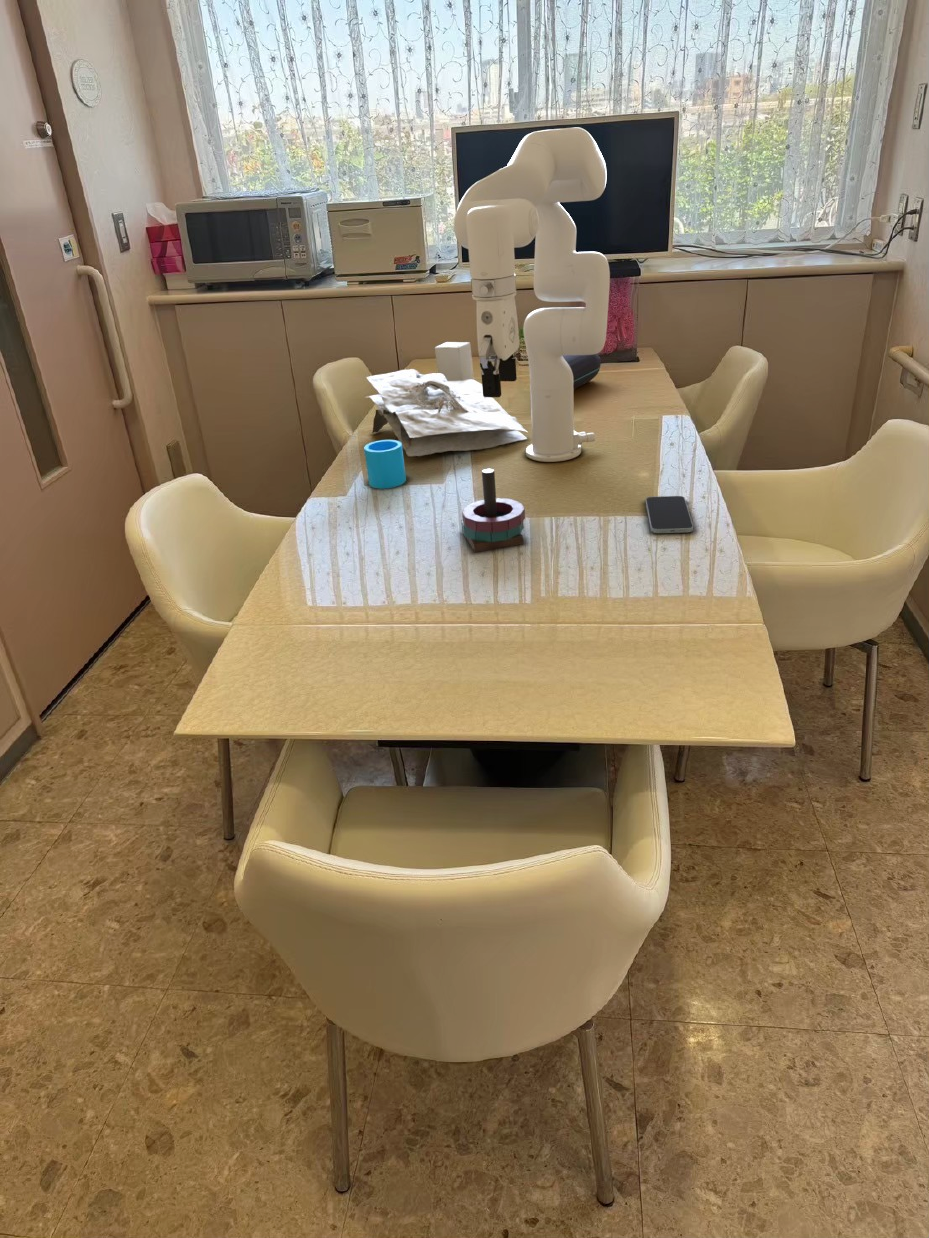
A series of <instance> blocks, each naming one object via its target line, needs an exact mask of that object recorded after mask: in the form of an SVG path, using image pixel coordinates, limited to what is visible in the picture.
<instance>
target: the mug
mask: <svg viewBox="0 0 929 1238" xmlns="http://www.w3.org/2000/svg"><path fill="white" fill-rule="evenodd" d="M402 447H403V446H402V443H401V442H400V441H399V440H395V439H381V440H376V441H372V442H369V443H367V444H365V446H364V447H363V450H364V451H363V452H364V457H365V464H366V472H367V478H368V484H369V487H372V488H375V489H391V488H396V487H400V486H402V485H403V484H405V483H406V482H407V476H406V468H405V467H406V466H405V459H404V449H403V448H402Z"/></svg>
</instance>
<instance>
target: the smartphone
mask: <svg viewBox="0 0 929 1238" xmlns="http://www.w3.org/2000/svg"><path fill="white" fill-rule="evenodd" d="M645 508H646V512H647V517H648V522H649V528H650V532H651V533H653V534H678V533H680V534H681V533H691V532H693V531H694V524H693V520H692V517H691V514H690V511H689V507H688V504H687V501H686V497H684V496H682V495H667V496H647V497H646V498H645Z"/></svg>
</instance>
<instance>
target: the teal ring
mask: <svg viewBox="0 0 929 1238" xmlns="http://www.w3.org/2000/svg"><path fill="white" fill-rule="evenodd" d="M505 515H507V513H503V512H497V517H501V516H505ZM480 517H485V514H482V515H480ZM460 523H461V531H462V533H463V535H464V537H465V538H466V537H467V538H470V539H472V540H475V541H484V542H491V541H492V542H495V541H502V540H507V539H510V538H512V537H514V536H516V535H519V534H520V533H521V534H522V531H523V529H524V528H525V526H524V525H525V524H524V521H523V522H522V524H521V525H519V526H517V527H515V528H513V529H510V530H507V531H501V532H494V533H493V532H492V533H490V532H477V531H474V530H471V529H469V528H466V527H465V525H464V523H463V518H462V519H461V520H460ZM467 538H466V539H467Z"/></svg>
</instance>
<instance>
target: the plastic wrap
mask: <svg viewBox="0 0 929 1238" xmlns="http://www.w3.org/2000/svg"><path fill="white" fill-rule="evenodd" d="M365 378H366V379H367V380H368V382H369V383H370V384H371V386H373V388H374V389H375V390H376V391H377V392H378V394H373V395H367V396H365V397H364V398H366V399H367V398H370V399H371V401H372V402H373V403H374V405H376V407H377V409H375V415H374V417H373V425H372V434H375V433H379V431H380V430H382V429H383V428H384V426H386V425H387V424H388V425H389V427H391V429H392V432H393V433H394V436H396V437H397V439H398V441H399V442H401V443H402V450H404V451H405V453H406V456H407V457H416V456H417V457H423V456H425V455H426V456H428V455H432V454H435V453H444V452H450V451H453V452H455V451H458V452H460V451H463V452H468V451H474V450H475V451H479V450H483V449H491V448H496V447H498V446H500V445H502V446H504V445H505V444H510V443H514V442H518V441H524V440H528V438H527V436H525V434H523V433H521V431H523V432H526V433H528V431H527V430H526V429H525V427H524V426H523V425H522V424H520V422H519V421H518V419H517V417H516V416H512V415H510V413H508V412H507V411H506V410H505V409H504V408H503V406H502V405H501V404H500V403H499V402H497V401H496V400H495V398H494V397H484V396H483V388H482V382H479V381H477V380H476V379H474V380H472V379H469V380H463V381H460V380H459V381H447V379H446V377H445V376H444V375H443V374H441V373H438V372H437V373H427V374H421V373H420V372H419V371H418V370H416V369H414V368H410V369H400V370H397V371H393V372H388V373H379V374H375V375H370V376H365Z"/></svg>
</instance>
